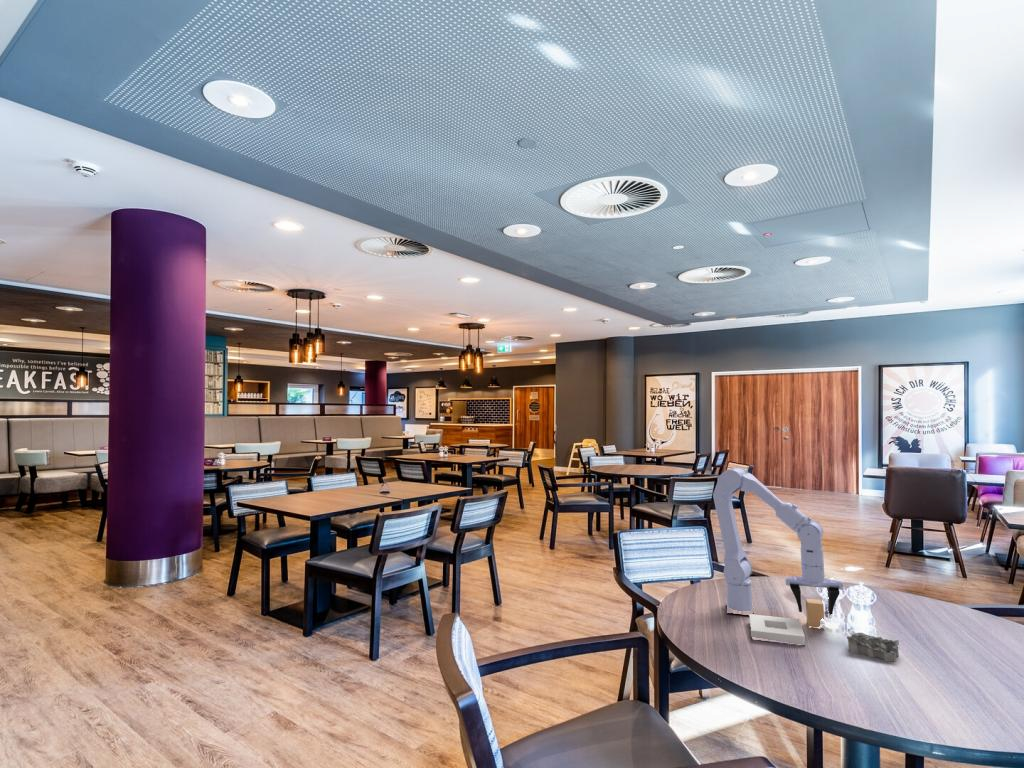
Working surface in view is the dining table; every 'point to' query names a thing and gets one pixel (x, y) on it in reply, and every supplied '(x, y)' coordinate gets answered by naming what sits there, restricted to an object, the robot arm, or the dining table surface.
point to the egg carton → (873, 646)
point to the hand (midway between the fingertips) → (815, 612)
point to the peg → (814, 612)
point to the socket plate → (787, 633)
